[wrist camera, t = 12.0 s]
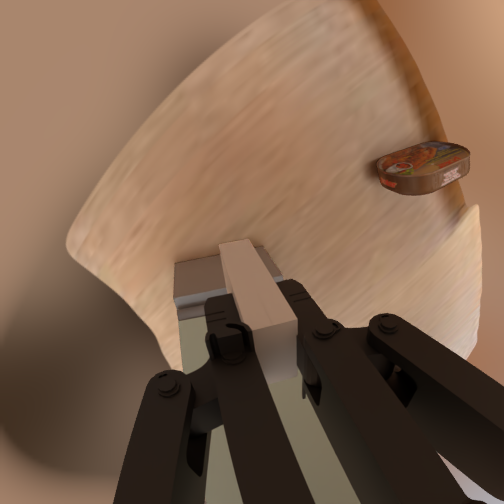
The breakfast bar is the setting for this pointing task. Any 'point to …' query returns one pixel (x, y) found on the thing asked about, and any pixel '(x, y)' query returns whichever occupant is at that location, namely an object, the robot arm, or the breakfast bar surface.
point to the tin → (423, 167)
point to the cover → (294, 421)
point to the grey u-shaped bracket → (208, 279)
